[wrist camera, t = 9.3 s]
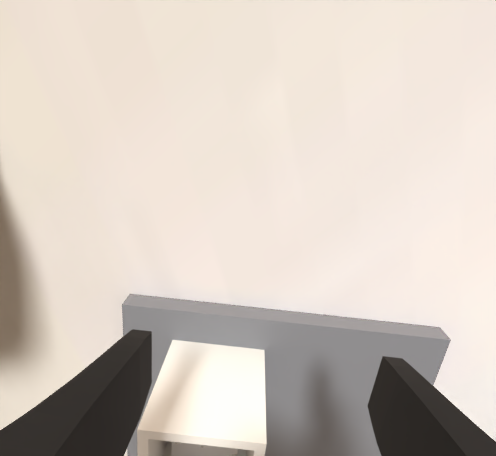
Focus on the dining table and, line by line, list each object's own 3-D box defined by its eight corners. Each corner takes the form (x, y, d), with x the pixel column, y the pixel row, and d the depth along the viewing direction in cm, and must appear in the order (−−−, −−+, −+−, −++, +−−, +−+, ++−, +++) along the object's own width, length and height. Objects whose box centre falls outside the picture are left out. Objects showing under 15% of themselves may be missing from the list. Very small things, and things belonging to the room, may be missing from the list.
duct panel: (439, 327, 20) (450, 339, 19) (379, 491, 25) (385, 509, 24) (130, 293, 20) (122, 304, 19) (134, 465, 25) (128, 481, 24)
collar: (264, 349, 19) (266, 443, 14) (253, 417, 21) (252, 525, 16) (172, 339, 19) (136, 429, 14) (170, 408, 21) (138, 512, 16)
